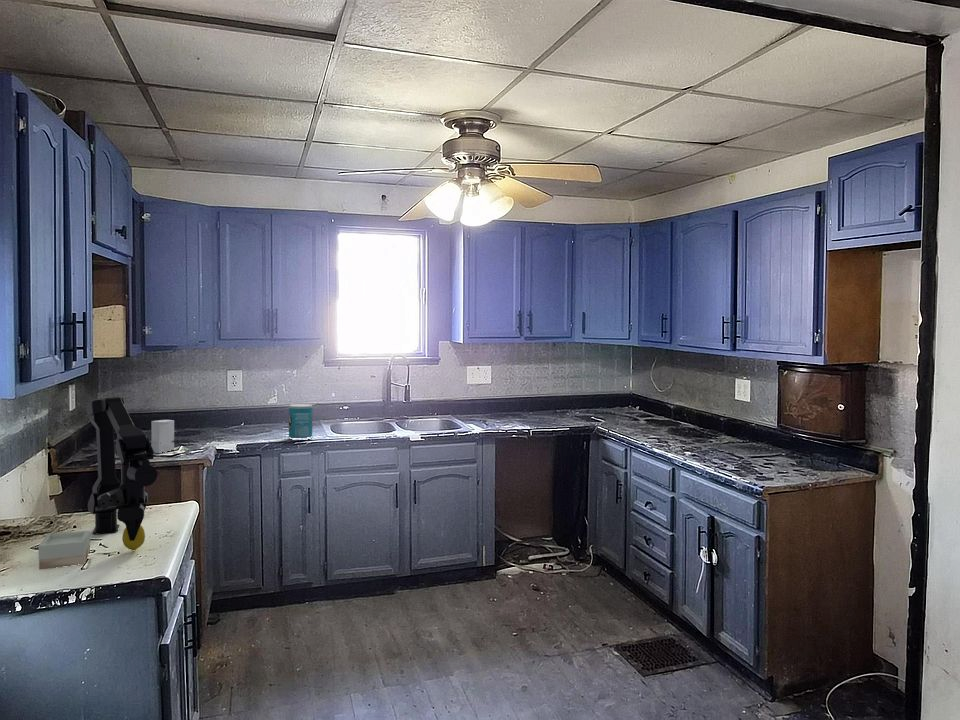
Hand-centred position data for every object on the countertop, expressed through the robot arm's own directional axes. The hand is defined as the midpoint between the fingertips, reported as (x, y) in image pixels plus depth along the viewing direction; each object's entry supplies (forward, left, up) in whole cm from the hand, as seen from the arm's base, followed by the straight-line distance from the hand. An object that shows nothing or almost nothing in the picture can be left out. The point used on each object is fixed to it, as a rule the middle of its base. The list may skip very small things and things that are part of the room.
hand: (133, 535), depth 187 cm
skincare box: (-141, +2, -5) cm, 141 cm away
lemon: (0, 0, -5) cm, 5 cm away
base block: (+2, -16, -5) cm, 17 cm away
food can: (-157, +67, -5) cm, 171 cm away
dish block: (+2, -16, -2) cm, 16 cm away
